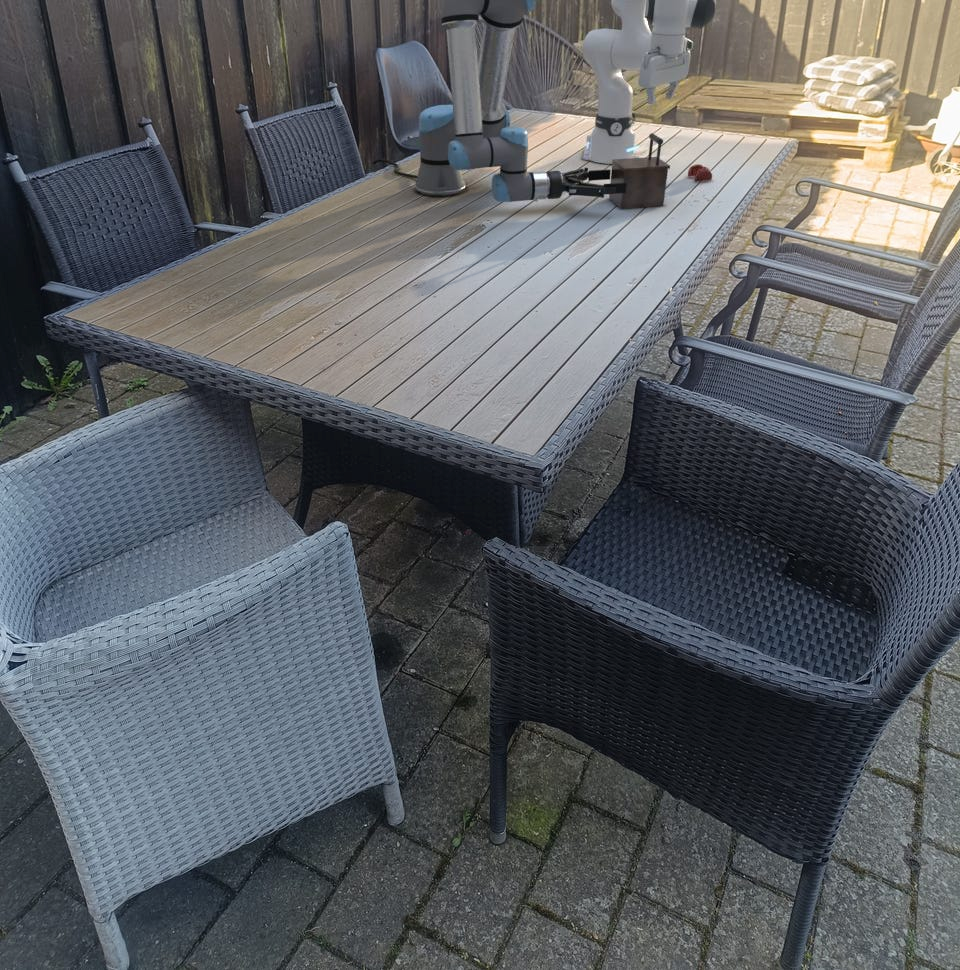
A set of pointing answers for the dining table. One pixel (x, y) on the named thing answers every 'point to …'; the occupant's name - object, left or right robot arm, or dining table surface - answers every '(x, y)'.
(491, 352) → the dining table surface
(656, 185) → the chest
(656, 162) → the lid
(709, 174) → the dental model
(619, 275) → the dining table surface
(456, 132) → the left robot arm
